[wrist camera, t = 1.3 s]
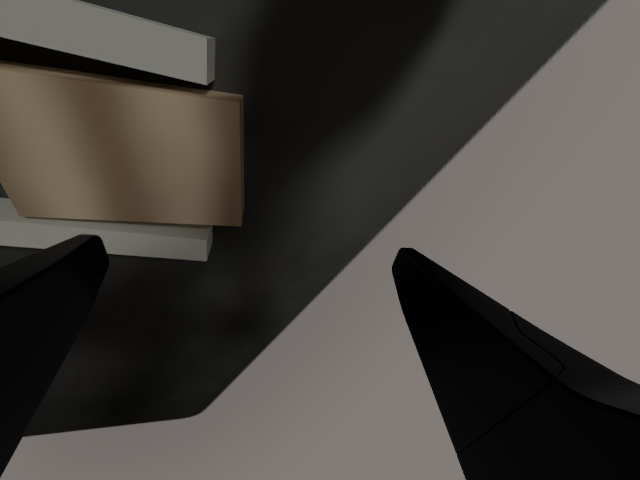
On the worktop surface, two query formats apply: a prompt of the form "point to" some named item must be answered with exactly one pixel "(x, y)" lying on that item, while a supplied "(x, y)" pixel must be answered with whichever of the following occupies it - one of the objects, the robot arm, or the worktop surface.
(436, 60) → the worktop surface
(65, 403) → the worktop surface
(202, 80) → the canopy channel
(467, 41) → the worktop surface
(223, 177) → the tan wooden block
